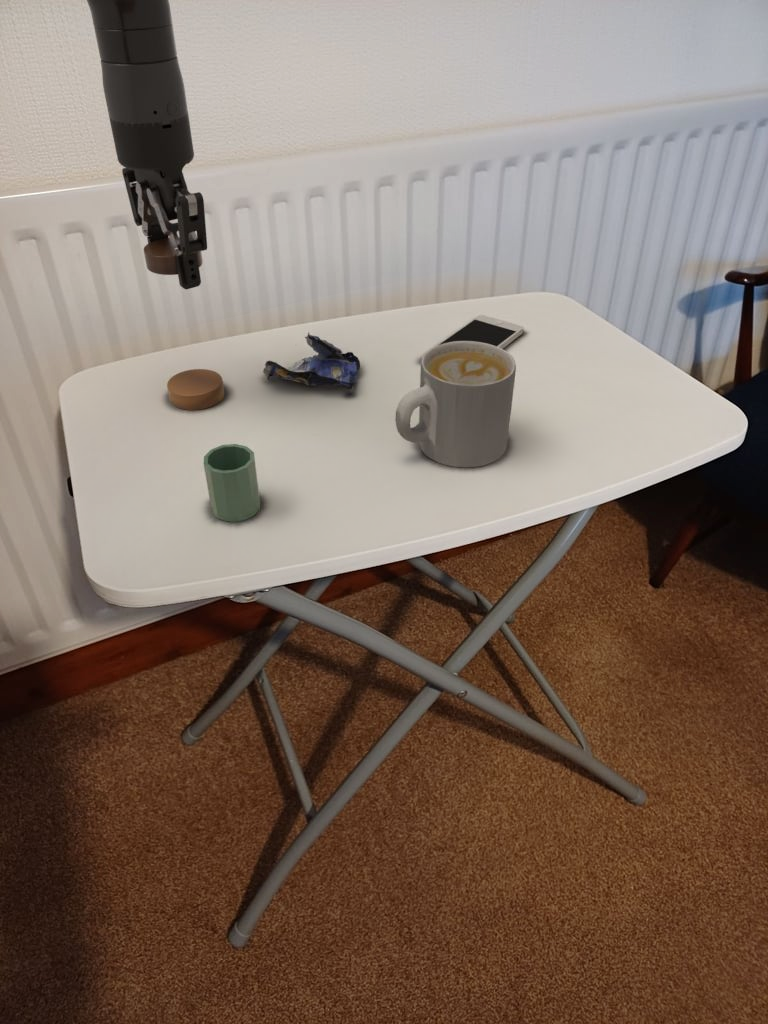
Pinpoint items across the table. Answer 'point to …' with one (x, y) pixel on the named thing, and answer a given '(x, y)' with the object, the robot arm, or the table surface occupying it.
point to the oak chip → (195, 389)
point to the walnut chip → (163, 257)
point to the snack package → (319, 366)
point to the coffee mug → (461, 404)
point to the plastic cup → (232, 482)
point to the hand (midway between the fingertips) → (176, 276)
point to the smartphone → (486, 332)
